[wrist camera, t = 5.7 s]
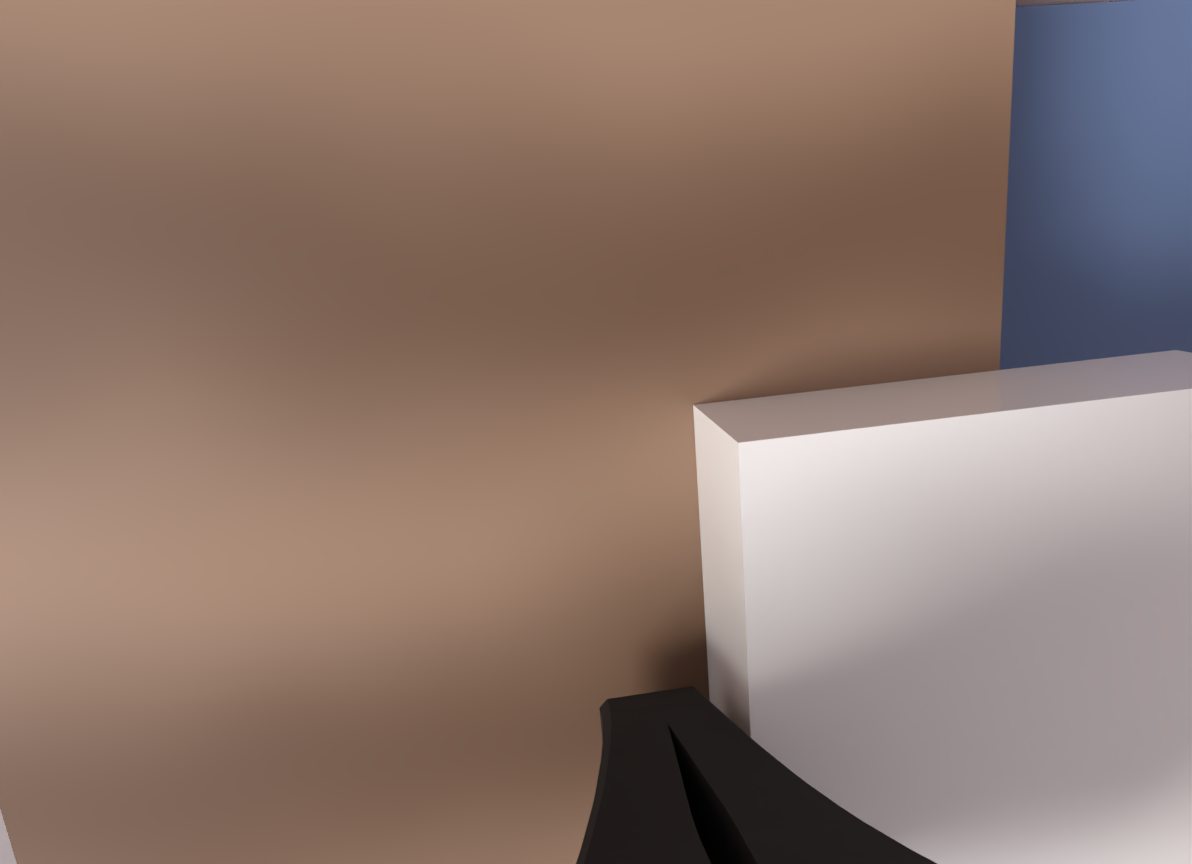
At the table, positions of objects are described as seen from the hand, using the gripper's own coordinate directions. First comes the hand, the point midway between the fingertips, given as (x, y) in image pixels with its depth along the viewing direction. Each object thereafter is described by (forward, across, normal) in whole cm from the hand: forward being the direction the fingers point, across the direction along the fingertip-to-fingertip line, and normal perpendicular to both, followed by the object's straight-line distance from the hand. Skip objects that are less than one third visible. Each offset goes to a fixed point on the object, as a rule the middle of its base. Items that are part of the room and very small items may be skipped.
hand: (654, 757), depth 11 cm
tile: (+1, -4, 0) cm, 5 cm away
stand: (+5, +2, 0) cm, 5 cm away
